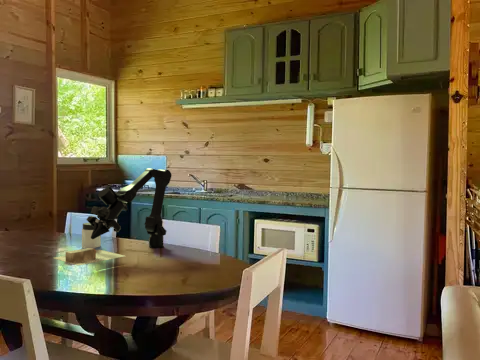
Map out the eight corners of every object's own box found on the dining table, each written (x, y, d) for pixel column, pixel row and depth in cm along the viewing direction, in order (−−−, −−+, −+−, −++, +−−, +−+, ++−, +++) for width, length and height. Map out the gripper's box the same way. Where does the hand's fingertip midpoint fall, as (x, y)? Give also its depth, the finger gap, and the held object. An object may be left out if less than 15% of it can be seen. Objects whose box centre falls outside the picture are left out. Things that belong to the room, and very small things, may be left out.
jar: (102, 248, 221) (103, 224, 220) (86, 250, 216) (86, 225, 215) (95, 245, 228) (96, 221, 227) (79, 246, 223) (79, 223, 222)
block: (90, 247, 199) (65, 251, 190) (95, 248, 197) (70, 253, 187) (90, 256, 199) (65, 261, 190) (95, 257, 197) (70, 262, 187)
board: (99, 250, 214) (100, 249, 214) (126, 257, 202) (126, 256, 202) (52, 259, 195) (52, 257, 195) (78, 266, 183) (78, 265, 183)
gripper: (90, 198, 206) (68, 224, 198) (115, 201, 194) (92, 229, 186) (104, 214, 213) (84, 240, 204) (129, 217, 201) (108, 245, 193)
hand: (91, 238), depth 197 cm, fingers closed
